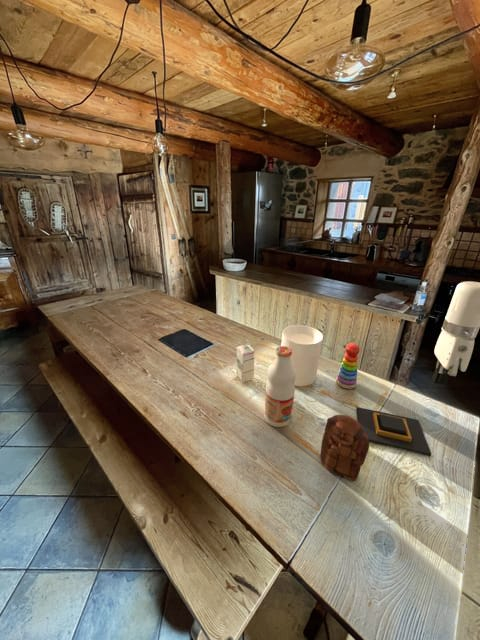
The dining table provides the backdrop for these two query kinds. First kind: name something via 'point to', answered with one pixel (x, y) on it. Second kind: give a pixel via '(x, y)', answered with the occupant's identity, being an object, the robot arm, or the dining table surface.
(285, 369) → the fruit juice
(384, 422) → the black pad
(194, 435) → the dining table surface
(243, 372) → the syrup box
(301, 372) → the canister
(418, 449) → the base pad
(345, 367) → the stacking toy
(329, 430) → the wooden figurine
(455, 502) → the dining table surface
